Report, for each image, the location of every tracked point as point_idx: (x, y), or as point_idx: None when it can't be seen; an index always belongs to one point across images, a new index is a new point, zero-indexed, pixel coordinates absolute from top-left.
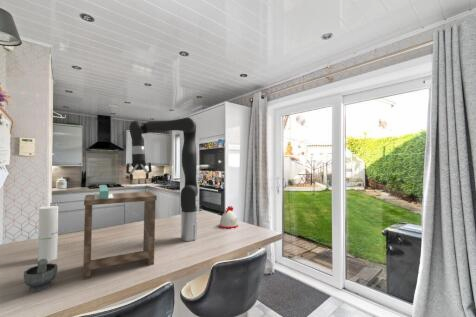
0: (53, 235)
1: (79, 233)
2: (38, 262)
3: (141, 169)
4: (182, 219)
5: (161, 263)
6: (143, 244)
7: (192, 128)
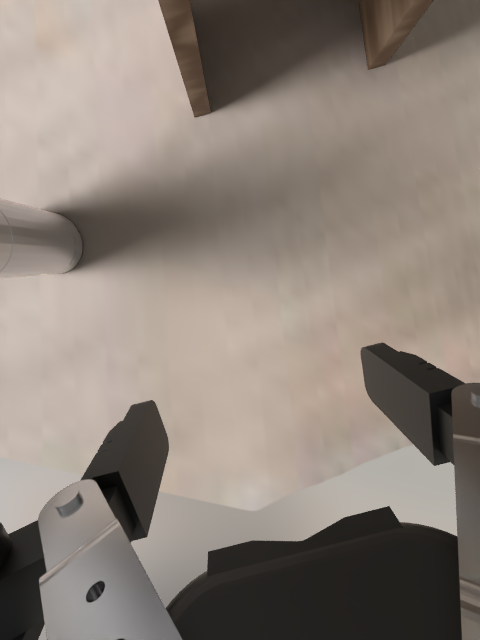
0: None
1: None
2: None
3: (227, 564)
4: (15, 217)
5: (141, 4)
6: (206, 90)
7: None
